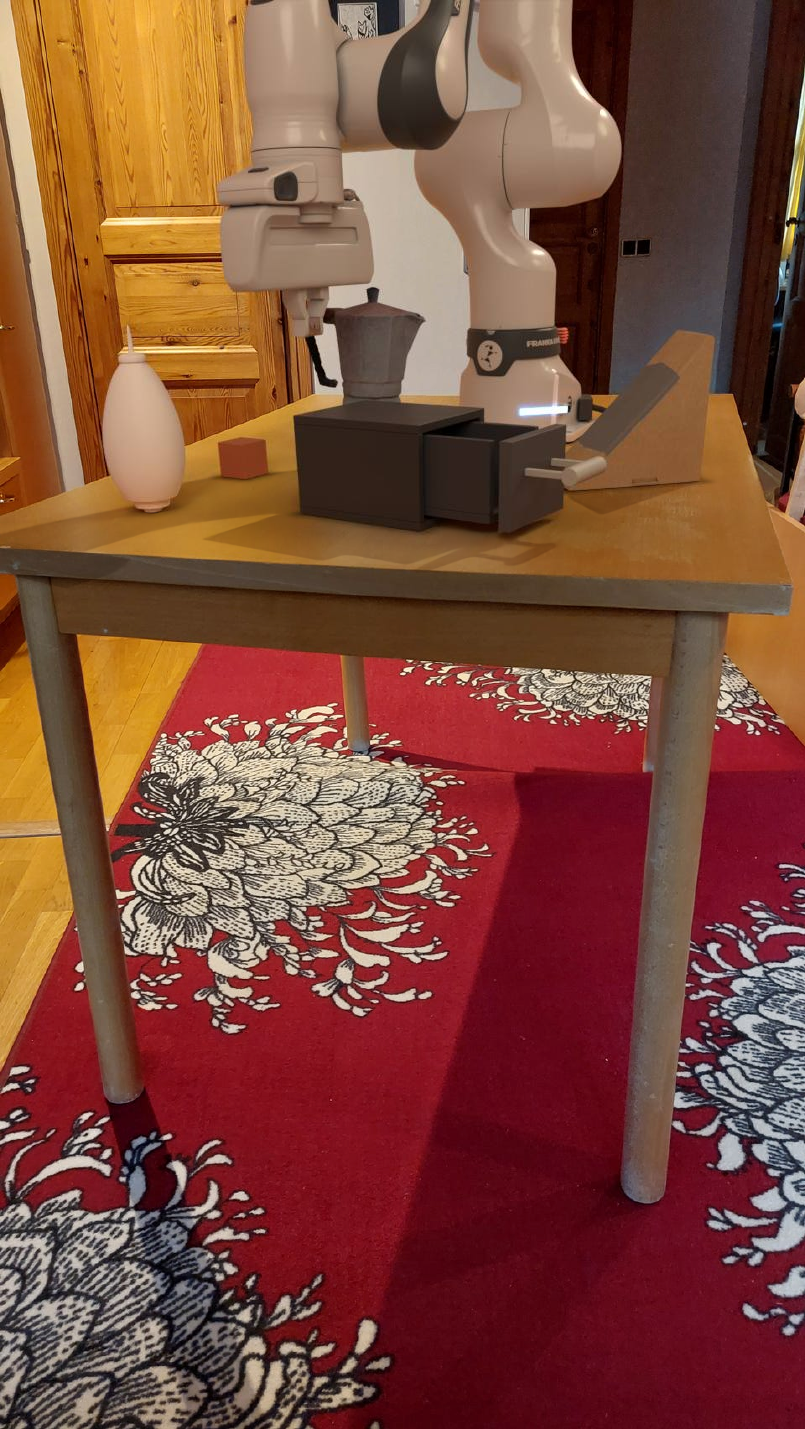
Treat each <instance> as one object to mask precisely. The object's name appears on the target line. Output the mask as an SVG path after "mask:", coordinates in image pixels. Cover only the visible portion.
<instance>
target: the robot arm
mask: <svg viewBox="0 0 805 1429" xmlns="http://www.w3.org/2000/svg"><path fill="white" fill-rule="evenodd" d="M475 2H476V0H419V2H418V9H417V14H416V16H415V17H414V19H413V20H412V21H411V22H409V23H408V24H407V25H405V26H404V27H401V28H400V29H399V30H396V31H394V32H391V33H388V34H382V35H375V36H370V37H365V38H360V39H359V38H358V39H353V37H352V36H350V35H348V34H347V33H346V32H345V31H343V30H342V28H340V26H339V25H338V24H337V22H336V21H335V20H334V18H333V17H332V12H331V8H330V3H329V0H250V1H249V2H248V4H247V6H246V10H245V13H244V14H245V15H244V22H243V42H242V43H243V46H242V48H243V51H242V52H243V71H244V72H243V74H244V87H245V99H246V104H247V107H248V111H249V114H250V116H251V121H252V137H251V141H250V160H251V165H250V166H247V167H245V168H243V169H241V170H240V171H238V172H236V173H234V174H232V175H230V176H227V177H226V178H224V179H221V180H220V181H218V182H217V184H216V198H217V201H218V203H219V205H220V206H221V207H223V208H226V209H225V210H224V211H223V212H222V214H221V217H220V222H219V240H220V253H221V263H222V272H223V277H224V280H225V282H226V284H227V286H228V287H229V289H230V290H231V291H232V292H233V293H261V292H273V291H274V292H277V291H281V297H282V303H283V305H284V308H285V309H286V311H287V314H288V315H289V317H290V319H291V323H292V333H293V336H294V337H295V338H304V337H309V336H315V337H317V336H322V335H323V334H324V323H323V317H324V314H325V310H326V307H327V308H328V304H329V301H330V289H329V288H330V287H341V286H342V287H343V286H356V285H368V284H370V283H371V282H372V279H373V276H374V273H375V262H374V261H375V260H374V253H373V252H374V250H373V243H372V235H371V228H370V223H369V220H368V216H367V214H366V212H365V207H364V202H363V201H362V200H361V199H360V197H359V196H358V195H357V193H356V191H355V190H354V189H352V188H344V174H343V173H344V171H343V154H349V153H350V154H351V153H372V152H379V151H380V152H381V151H382V152H383V151H391V150H405V151H414V156H413V172H414V177H415V181H416V184H417V187H418V189H419V191H420V192H421V195H422V196H423V198H424V199H425V201H427V202H428V204H429V205H430V206H432V207H433V208H434V209H436V211H438V212H439V213H440V214H441V215H442V216H443V217H444V218H445V219H446V221H447V222H448V224H449V225H450V226H451V229H452V230H453V231H454V233H455V235H456V236H457V238H458V241H459V243H460V245H461V248H462V251H463V255H464V258H465V262H466V268H467V275H468V286H469V287H468V288H469V309H470V310H469V315H470V316H469V317H470V318H469V319H470V320H469V324H470V325H469V326H470V327H469V328H468V329H467V330H466V340H465V345H466V356H467V358H468V363H467V366H466V368H464V370H463V371H462V372H461V374H460V380H459V382H460V383H459V393H458V406H462V407H477V408H484V422H490V423H503V424H517V425H530V426H539V429H541V428H544V427H547V426H550V425H553V424H565V425H567V426H566V443H571V442H575V441H577V440H578V439H579V438H580V437H581V436H582V435H583V434H584V433H585V431H586V430H587V429H588V428H589V427H590V426H591V425H592V424H593V423H594V422H595V421H596V420H597V418H594V417H593V412H597V413H600V414H602V413H603V412H604V411H605V410H606V409H607V408H608V407H604V406H603V405H602V406H601V405H598V404H595V403H594V399H593V397H592V395H591V393H590V394H587V393H585V394H583V393H582V387H581V383H580V382H579V381H578V380H577V378H576V377H575V376H574V374H573V373H572V372H571V371H570V370H569V368H568V367H567V366H566V364H565V362H564V361H563V360H562V359H561V357H560V354H561V352H562V351H561V344H567V343H568V340H569V331H568V328H567V327H557V326H556V325H555V320H556V319H555V317H556V316H555V315H556V290H557V288H556V287H557V286H556V284H557V268H556V264H555V261H554V259H553V258H552V256H551V254H550V253H549V252H548V251H547V250H546V249H545V248H543V247H542V246H540V245H538V244H537V243H535V242H533V241H532V240H530V239H528V238H526V237H524V236H522V235H520V234H519V233H518V231H517V229H516V227H515V224H514V220H513V211H514V210H515V211H516V210H521V209H524V210H525V209H542V208H563V207H570V206H573V205H577V204H581V203H585V202H588V201H592V200H596V199H599V198H602V196H603V195H604V194H605V193H606V192H607V191H608V189H610V187H611V185H612V184H613V182H614V180H615V178H616V176H617V174H618V172H619V169H620V165H621V161H622V160H621V159H622V139H621V134H620V130H619V128H618V126H617V122H616V121H615V118H614V117H613V116H612V114H610V112H609V111H608V110H607V109H606V107H604V106H603V105H601V104H600V103H598V101H597V100H596V99H595V98H593V96H592V95H591V94H590V93H589V91H588V90H587V88H586V87H585V85H584V83H583V82H582V80H581V78H580V76H579V73H578V70H577V67H576V64H575V59H574V55H573V45H572V44H573V41H572V38H573V36H572V35H573V34H572V33H573V32H572V26H573V24H572V23H573V22H572V21H573V0H479V3H478V4H479V6H478V22H477V39H476V40H477V41H476V42H477V48H478V53H479V56H480V57H481V59H482V61H483V63H484V65H485V66H486V67H487V68H488V69H489V70H490V71H491V72H493V73H494V74H495V75H497V76H499V77H500V78H502V79H503V80H505V81H507V82H509V83H512V84H514V85H516V86H517V87H519V88H520V103H519V104H518V105H516V106H513V107H505V108H492V109H480V110H467V107H468V102H469V101H468V100H469V48H470V40H471V33H472V26H473V18H474V9H475ZM307 300H308V303H307V306H306V305H305V301H307ZM306 307H307V308H306Z"/></svg>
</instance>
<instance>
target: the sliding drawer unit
mask: <svg viewBox="0 0 805 1429" xmlns="http://www.w3.org/2000/svg"><path fill="white" fill-rule="evenodd" d="M566 426H567V425H565V424H553V425H550V426H547V427H544V428H541V429H539V426H530V425H517V424H503V423H490V422H476V421H465V422H461V423H458V424H454V425H450V426H447V427H443V428H439V429H436V430H432V431H429V432H425V433H422V434H423V480H424V515H426V516H433V517H440V518H447V519H450V520H455V521H463V522H470V523H477V524H483V525H491V524H493V523H496V522H498V524H497V526H498V528H497V529H498V532H501V533H506V534H507V533H509V534H510V533H513V532H515V531H517V530H519V529H521V528H523V527H526V526H528V525H530V524H532V523H534V522H536V521H538V520H541V519H543V518H546V517H547V516H549V515H552V514H554V513H556V512H558V511H561V510H562V509H564V500H565V498H564V494H565V488H564V485H565V486H568V487H572V486H574V485H577V484H579V483H581V482H584V481H586V480H588V479H591V478H593V477H595V476H598V475H600V474H602V473H604V472H605V470H606V468H607V463H606V460H605V459H604V458H603V457H600V456H596V457H594V458H591V459H589V460H586V461H579V460H569V459H565V453H566V451H567V450H566V449H567V448H566V446H567V442H566ZM565 467H568V468H566V469H565Z"/></svg>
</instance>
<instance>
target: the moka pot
mask: <svg viewBox="0 0 805 1429" xmlns="http://www.w3.org/2000/svg"><path fill="white" fill-rule="evenodd" d="M365 290H366V298H367V302H363V303H360V304H355V305H352V306H348V307H344V308H343V307H328V306H327V307H326V310H325V314H324V317H323V324H325V325H333V326H334V328H335V334H336V342H337V350H338V361H339V367H340V368H339V369H340V376H341V379H342V382H341V387H342V394H343V398H342V404H341V405H345V404H349V403H354V402H359V401H363V400H371V401H386V402H402V401H401V400H402V399H401V397H400V395H401V394H402V381H403V380H404V379H405V374H406V367H407V360H408V355H409V353H410V351H411V349H412V346H413V344H414V342H415V339H416V337H417V334H418V333H419V330H420V328H421V326H422V324H424V323H426V322H427V320H426V318H425V317H424V315H423V316H422V315H421V314H420V313H418V312H413V311H410V310H405V309H402V308H399V307H395V306H392V305H388V304H384V303H382V302H379V301H378V300H379V294H380V288H379V287H375V286H369V287H368V288H366V289H365ZM303 338H304V340H305V343H306V346H307V348H308V351H309V356H310V357H311V361H312V364H313V365H314V366H313V367H314V371H315V373H316V377H317V380H318V383H319V385H320V386H322V387H326V388H331V389H332V388H333V389H337V386H338V384H339V381H338V380H337V379H335V378H332V379H331V378H328V377H327V374H326V371H325V369H324V366H323V362H322V358H321V352H320V350H319V347H318V344H317V339H316V336H309V337H303Z"/></svg>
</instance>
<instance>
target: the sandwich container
mask: <svg viewBox="0 0 805 1429" xmlns="http://www.w3.org/2000/svg"><path fill="white" fill-rule="evenodd" d="M715 341H716V340H715V337H714V335H711V334H706V333H702V332H697V331H690V330H682V329H677V330H676V331H674V333H673V334H672V335H671V336H670V338H669V339H668V340H667V341H666V342H665V343H664V344H663V346H662V347H661V348H660V349H659V350H658V351H657V352H656V353H655V354H654V356H653V357H652V358H651V359H650V360H649V361H648V362H647V364H646V365H644V367H643V368H642V369H641V370H640V371H639V372H638V374H637V375H636V376H635V377H634V378H633V379H632V380H631V381H630V383H629V384H627V386H626V387H625V388H624V389H623V390H622V391H621V392H620V393H619V394H618V395H617V396H616V398H615V399H614V400H613V401H612V402H611V403H610V404H609V405H608V406H607V407H606V408H607V409H606V410H605V411H604V412H603V413H600V415H599V416H598V417H597V418H596V419H597V420H596V421H595V422H594V423H593V424H592V425H591V426H590V427H589V428H588V429H587V430H586V431H585V433H584V434H583V435H582V436H580V437H579V438H577V439H576V440H575V441H574V443H573V444H572V445H571V446H570V447H569V449H568V450H566V451H565V459H569V460H579V461H586V460H589V459H591V458H594V457H596V456H600V457H603V458H604V459H605V460H606V463H607V468H606V470H605V472H604V473H602V474H600V475H598V476H595V477H593V478H591V479H588V480H586V481H584V482H581V483H579V484H577V485H574V486H572V487H568V486H565V485H564V490H565V489H566V490H568V491H569V492H570V491H584V490H587V491H588V490H598V489H599V490H601V489H615V488H628V487H637V486H638V487H639V486H650V485H651V486H652V485H666V484H667V485H669V484H676V483H677V484H678V483H688V482H699V481H701V473H702V466H703V455H704V448H705V447H704V446H705V437H706V436H705V435H706V427H707V420H708V419H707V418H708V411H709V410H708V409H709V401H710V400H709V398H710V390H711V389H710V388H711V382H712V381H711V380H712V372H713V370H712V369H713V361H714V352H715V343H716V342H715ZM566 468H568V467H565V469H566Z"/></svg>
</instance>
